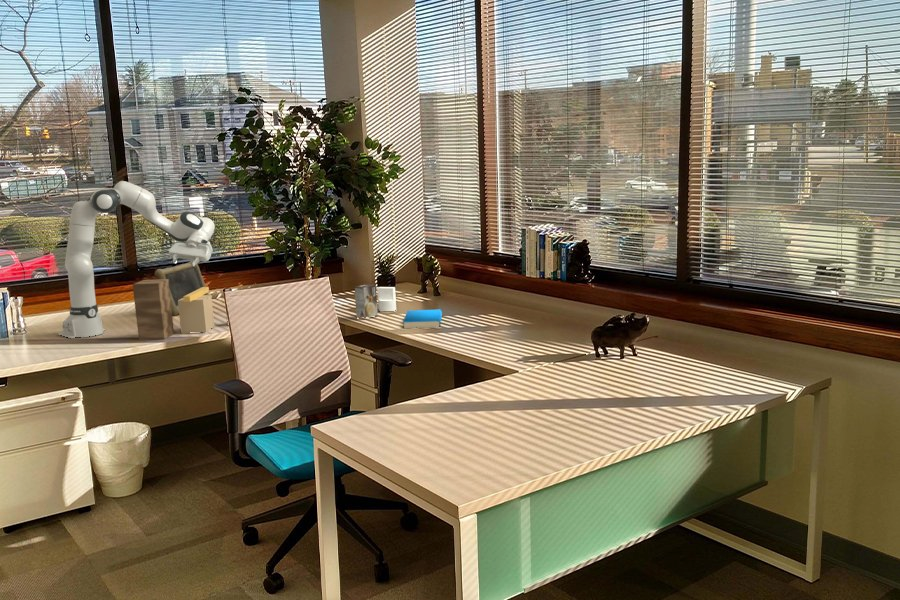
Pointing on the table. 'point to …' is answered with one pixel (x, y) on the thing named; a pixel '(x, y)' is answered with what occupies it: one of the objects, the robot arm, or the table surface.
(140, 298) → the walnut post
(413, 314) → the book
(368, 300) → the coffee box
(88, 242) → the robot arm
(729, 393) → the table surface
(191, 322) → the cardboard box
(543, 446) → the table surface
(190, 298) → the tan wooden beam
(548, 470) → the table surface
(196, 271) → the grey open box
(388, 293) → the white recessed box
